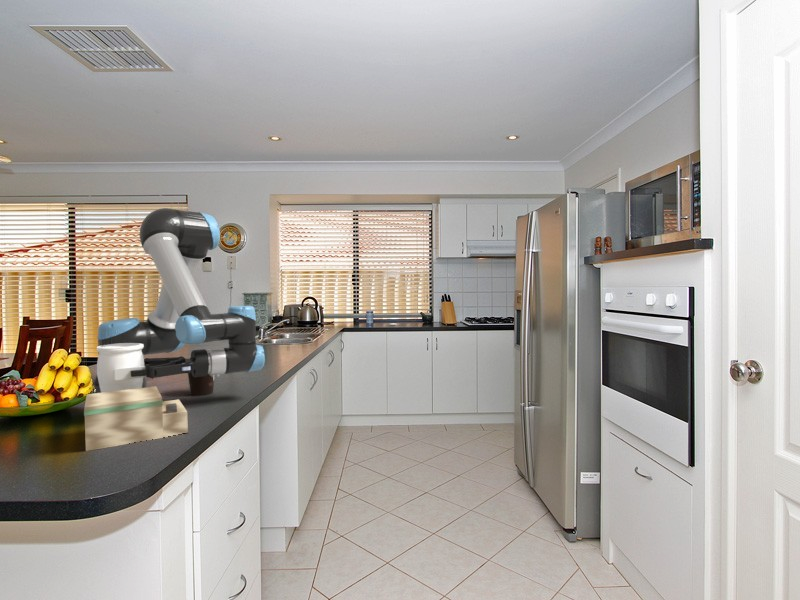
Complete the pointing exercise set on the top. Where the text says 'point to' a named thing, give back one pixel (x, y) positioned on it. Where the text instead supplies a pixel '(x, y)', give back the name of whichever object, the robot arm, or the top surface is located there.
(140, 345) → the jar
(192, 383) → the coffee mug
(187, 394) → the top surface
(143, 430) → the step stand
